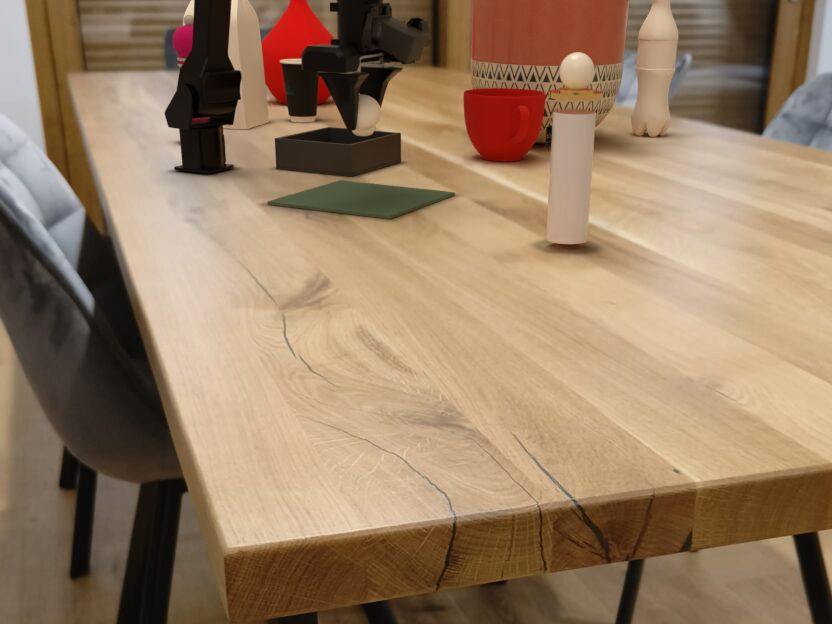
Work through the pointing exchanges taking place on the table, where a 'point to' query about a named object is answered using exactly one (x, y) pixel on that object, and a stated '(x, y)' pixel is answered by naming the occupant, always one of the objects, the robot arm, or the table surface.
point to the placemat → (362, 199)
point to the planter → (548, 48)
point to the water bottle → (655, 70)
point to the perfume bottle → (571, 154)
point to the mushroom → (367, 115)
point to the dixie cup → (300, 90)
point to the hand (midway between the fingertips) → (361, 127)
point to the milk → (246, 64)
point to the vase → (292, 46)
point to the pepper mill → (184, 41)
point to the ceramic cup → (503, 121)
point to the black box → (337, 151)
